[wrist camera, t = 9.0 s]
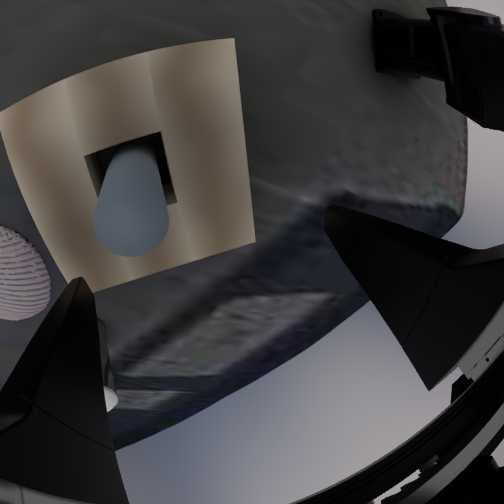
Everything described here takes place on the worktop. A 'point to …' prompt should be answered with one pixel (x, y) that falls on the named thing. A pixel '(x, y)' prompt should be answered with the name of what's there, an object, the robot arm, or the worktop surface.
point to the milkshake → (106, 369)
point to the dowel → (131, 202)
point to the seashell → (21, 277)
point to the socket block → (127, 128)
